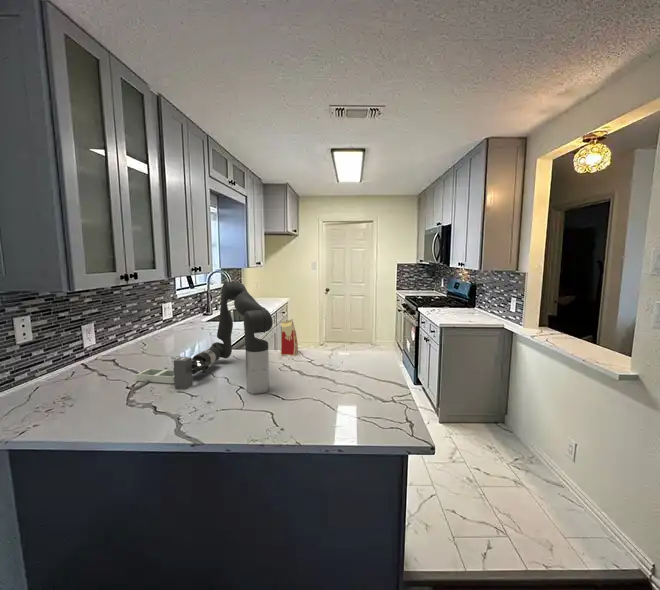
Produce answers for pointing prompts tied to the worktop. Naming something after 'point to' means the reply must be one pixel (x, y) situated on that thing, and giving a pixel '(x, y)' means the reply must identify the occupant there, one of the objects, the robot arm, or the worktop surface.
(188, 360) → the block
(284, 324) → the milk carton
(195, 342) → the worktop surface
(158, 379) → the two-compartment tray
